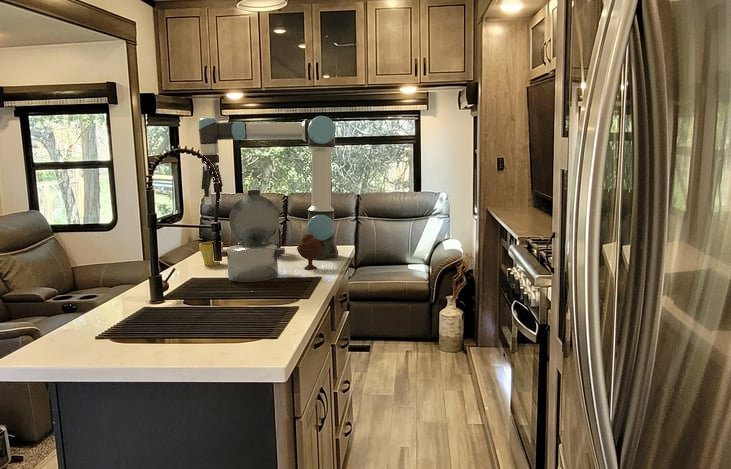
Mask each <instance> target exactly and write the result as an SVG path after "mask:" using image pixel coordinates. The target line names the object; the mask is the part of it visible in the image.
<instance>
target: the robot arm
mask: <svg viewBox="0 0 731 469" xmlns="http://www.w3.org/2000/svg"><path fill="white" fill-rule="evenodd" d="M336 132H337V128H336V125H335V123H334V121H333V120H332V119H331V118H330V117H328V116H324V115H319V116H318V115H317V116H316V117H314V118H312V119H304V120H303V121H302V122H298V121H297V122H243V121H228V122H227V121H226V122H225V121H224V122H218V121H217V119H216V118H214V117H206V118H205V117H204V118H203V117H202V118H200V119H198V135H199V144H200V147H199V150H200V153H201V155H204V156H205V157H206V158H207V159H209V160H210V162H211V163H212V164H213V165H214V168H215V170H216V171H217V175H218V178H219V181H220V184H221V188H222V187H223V186H224V184H223V179H222V177H221V172H220V167H219V163H220V155H219V151H220V150H219V143H218V142H219V141H223V140H224V141H225V140H227V141H228V140H229V141H230V140H231V141H232V140H234V141H246V140H247V141H248V140H249V141H250V140H253V141H255V140H258V141H259V140H303V141H304V142H308V149H309V150H310V151H311V205H310V207H309V208H308V209H307V225H306V230H307V234H311V235H313V236H314V238H317V239H318V240H319V241H320V243H321V246H322V247H323V248H322V252H321V254H320V255H319V256H318V257H316V258H314V259H313V260H317V261H318V260H319V261H320V260H321V261H322V260H330V259H331V260H332V259H336V258H338V257H339V250H338V247H337V245H336V242H335V209H334V208H333V207H332V205H331V204H332V201H331V200H332V152H333V150H334V149H336ZM200 159H201V158H200ZM200 162H201V164H203V166H202V176H201V177H202V179H201V187H200V188H201V190H203V193H204V194H203V195H204V205H213V204H212V202H213V201H212V191H211V184H212V183H211V182H214V178H213V174H212V171H211V170H210V168H209V166H208V165H207V164H206V163H205V162H204V161H203V160H202V159H201V161H200ZM204 164H205V165H204ZM218 202H223V197H222V192H221V193H220V199H219V201H218Z"/></svg>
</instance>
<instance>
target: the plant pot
mask: <svg viewBox="0 0 731 469" xmlns="http://www.w3.org/2000/svg"><path fill="white" fill-rule="evenodd" d="M212 242H213V241H206V242H205V241H204V242H201V243H199V245H198V246H199V252H201V257H202V260H203V263H204V265H205V266H209V267H211V266H218V264H219V265H220V264H221V261H220V262H214V261H213V244H212ZM220 242H221V247H222V250H224V242H222V241H220Z"/></svg>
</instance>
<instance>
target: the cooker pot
mask: <svg viewBox="0 0 731 469" xmlns="http://www.w3.org/2000/svg"><path fill="white" fill-rule="evenodd" d="M285 249H286V247H280V248H277V246H276V245H274V244H264V243H256V244H248V243H245V244H242V245H237V244H236V245H231V246H229V247H227V248H226V249H223V250H221V254H222V257H221V258H226V259H227V260H226V262H227V276H228V280H229V281H233V282H241V283H244V282H245V283H250V282H251V283H253V282H262V281H263V282H264V281H268V280H272V279H276V278H277V277H278V276H279V267H278V266H279V265H278V257H277V255H280V256H281V255H283V256H284V255H285V252H286V250H285Z"/></svg>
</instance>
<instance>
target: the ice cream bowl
mask: <svg viewBox="0 0 731 469" xmlns="http://www.w3.org/2000/svg"><path fill="white" fill-rule="evenodd" d="M322 248H323V247H322V246H321V243H320V241H319V240H318V239H317V238H314V236H313V235H311V234H309V233H305V234H304V235H303V236H302V237H301V241H300V242H299V243H298V245H297V247H296V250H297V252H298V254H299V255H300V257H302V258H303V259H305V260H307V261H308V265H305V266H304V267H303V270H305V271H313V270H317V269H318V267H317V266H316V265H314V264H313V261H314V260H315V259H314V258H316V257H318V256H319V255H320V254H321V252H322Z"/></svg>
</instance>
